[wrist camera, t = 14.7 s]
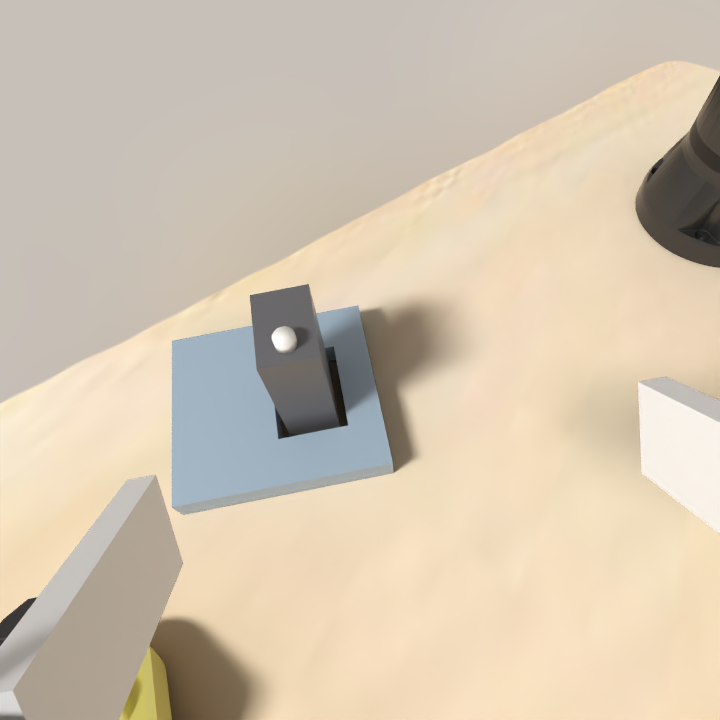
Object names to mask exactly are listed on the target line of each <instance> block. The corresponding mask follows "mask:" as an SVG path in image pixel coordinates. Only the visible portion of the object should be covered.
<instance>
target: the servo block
mask: <svg viewBox="0 0 720 720" xmlns="http://www.w3.org/2000/svg"><path fill="white" fill-rule="evenodd" d="M250 303H251V314H252V324H253V335H254V346H255V357H256V368H257V371H258V373H259V375H260V377H261V379H262V381H263V383H264V385H265V387H266V389H267V391H268V393H269V395H270V397H271V399H272V401H273V403H274V405H275V407H276V409H277V411H278V413H279V415H280V417H281V419H282V421H283V423H284V425H285V427H286V429H287V430H288V432H289V434H290V436H291V437H292V436H297V435H302V434H307V433H312V432H317V431H322V430H327V429H332V428H337V427H340V423H339V417H338V411H337V405H336V400H335V394H334V388H333V382H332V377H331V371H330V366H329V362H328V359H327V355H326V351H325V347H324V343H323V339H322V335H321V331H320V327H319V323H318V319H317V315H316V311H315V307H314V303H313V300H312V296H311V292H310V288H309V284H307V285H302V286H297V287H291V288H286V289H281V290H276V291H270V292H265V293H260V294H254V295H250Z"/></svg>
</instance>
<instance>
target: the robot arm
mask: <svg viewBox="0 0 720 720" xmlns="http://www.w3.org/2000/svg"><path fill="white" fill-rule="evenodd" d="M636 211H637V215H638V218H639V220H640V222H641V224H642V226H643V227H644V229H645V230H646V231H647V232H648V234H649V235H650V236H651V237H652V238H653V239H654V240H655V241H657V242H658V243H659V244H660V245H662V246H663V247H664V248H666V249H668V250H669V251H671V252H673V253H674V254H676V255H678V256H680V257H683V258H685V259H688V260H690V261H693V262H696V263H700V264H704V265H708V266H714V267H720V76H719V78H718V80H717V82H716V83H715V85H714V87H713V89H712V91H711V92H710V94H709V96H708V98H707V100H706V102H705V103H704V105H703V107H702V109H701V111H700V112H699V114H698V116H697V118H696V120H695V122H694V124H693V125H692V127H691V129H690V131H689V132H688V133H687V134H686V135H685V136H684V137H683V138H682V139H680V140H679V141H678V142H677V143H676V144H675V145H674V146H673V147H672V148H671V149H670V150H669V151H668V152H667V153H666V154H665V155H664V156H663V158H661V159H660V160H659V161H658V162H657V163H656V164H655V165H654V166H653V167H652V168H651V169H650V170H649V172H648V173H647V175H646V177H645V179H644V180H643V182H642V184H641V186H640V188H639V191H638V193H637V196H636ZM638 392H639V417H640V443H641V469H642V474H643V475H644V476H646V477H647V478H648V479H650V480H651V481H652V482H653V483H655V484H656V485H657V486H659V487H660V488H661V489H662V490H664V491H665V492H666V493H668V494H669V495H670V496H671V497H673V498H674V499H675V500H677V501H678V502H679V503H680V504H682V505H683V506H684V507H686V508H687V509H688V510H689V511H691V512H692V513H693V514H695V515H696V516H697V517H698V518H700V519H701V520H702V521H704V522H705V523H706V524H707V525H709V526H710V527H711V528H713V529H714V530H715V531H716V532H718V533H719V534H720V400H717V399H715V398H713V397H710V396H708V395H706V394H704V393H701V392H699V391H697V390H695V389H692V388H690V387H688V386H686V385H683V384H681V383H679V382H677V381H674V380H672V379H670V378H668V377H661V378H656V379H651V380H646V381H640V382H638ZM182 565H183V561H182V558H181V555H180V552H179V548H178V545H177V542H176V539H175V535H174V532H173V529H172V525H171V522H170V519H169V516H168V512H167V509H166V506H165V503H164V499H163V496H162V493H161V490H160V486H159V483H158V480H157V476H156V475H151V476H146V477H141V478H136V479H130V480H127V481H126V482H125V484H124V485H123V486H122V487H121V489H120V490H119V491H118V493H117V494H116V495H115V497H114V498H113V499H112V501H111V502H110V503H109V505H108V506H107V507H106V508H105V510H104V511H103V512H102V514H101V515H100V516H99V518H98V519H97V520H96V522H95V523H94V524H93V526H92V527H91V528H90V529H89V531H88V532H87V533H86V535H85V536H84V537H83V539H82V540H81V541H80V543H79V544H78V545H77V547H76V548H75V549H74V550H73V552H72V553H71V554H70V556H69V557H68V558H67V560H66V561H65V562H64V564H63V565H62V566H61V567H60V569H59V570H58V571H57V573H56V574H55V575H54V577H53V578H52V579H51V581H50V582H49V583H48V585H47V586H46V587H45V588H44V590H43V591H42V592H41V594H40V595H39V596H38V597H37V598H32V599H28V600H27V601H25V602H24V603H23V604H22V605H20V606H19V607H18V608H17V609H16V610H14V611H13V612H12V613H11V614H9V615H8V616H7V617H6V618H5V619H3V621H2V622H1V623H0V720H119V719H120V716H121V714H122V711H123V709H124V706H125V704H126V701H127V699H128V697H129V694H130V692H131V689H132V687H133V684H134V682H135V680H136V677H137V675H138V672H139V670H140V667H141V665H142V662H143V660H144V658H145V655H146V653H147V650H148V648H149V645H150V643H151V640H152V638H153V636H154V633H155V631H156V628H157V626H158V623H159V621H160V619H161V616H162V614H163V611H164V609H165V606H166V604H167V601H168V599H169V597H170V594H171V592H172V589H173V587H174V584H175V582H176V579H177V577H178V575H179V572H180V570H181V567H182Z"/></svg>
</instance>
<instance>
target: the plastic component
mask: <svg viewBox="0 0 720 720" xmlns="http://www.w3.org/2000/svg"><path fill="white" fill-rule="evenodd" d="M119 720H172V716H171V708H170V700H169V691H168V683H167V675H166V668H165V664H164V662H163V661H162V659H161V658H160V657H159V656H158V654H157V653H156V652H155V651H154V650H153V649H152V647H151V646H150V645H149V648H148V650H147V653H146V655H145V658H144V660H143V662H142V665H141V667H140V670H139V672H138V675H137V677H136V680H135V682H134V684H133V687H132V689H131V692H130V694H129V697H128V699H127V701H126V704H125V706H124V709H123V711H122V714H121V716H120V719H119Z"/></svg>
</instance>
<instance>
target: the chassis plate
mask: <svg viewBox="0 0 720 720" xmlns="http://www.w3.org/2000/svg"><path fill="white" fill-rule="evenodd" d="M316 315H317V319H318V323H319V327H320V331H321V335H322V339H323V343H324V347H325V351H326V355H327V359H328V361H333V360H336V361H337V367H338V372H339V377H340V383H341V388H342V394H343V399H344V405H345V410H346V416H347V421H348V426H342V427H337V428H332V429H327V430H322V431H317V432H312V433H307V434H302V435H297V436H292V437H286V438H283V436H282V427H281V418H280V415H279V413H278V411H277V409H276V407H275V405H274V403H273V401H272V399H271V397H270V395H269V393H268V391H267V389H266V387H265V385H264V383H263V381H262V379H261V377H260V375H259V373H258V371H257V368H256V357H255V346H254V335H253V326H248V327H243V328H238V329H233V330H227V331H222V332H217V333H212V334H206V335H201V336H196V337H191V338H185V339H180V340H175V341H172V508H174V509H175V510H177V511H178V512H180V513H181V514H183V515H185V514H190V513H195V512H200V511H205V510H210V509H215V508H220V507H225V506H230V505H235V504H240V503H245V502H250V501H255V500H260V499H265V498H270V497H275V496H280V495H285V494H290V493H295V492H300V491H305V490H310V489H315V488H320V487H325V486H330V485H335V484H340V483H345V482H350V481H355V480H360V479H365V478H370V477H375V476H380V475H385V474H390V473H394V472H393V461H392V457H391V452H390V447H389V443H388V438H387V434H386V429H385V425H384V420H383V416H382V411H381V407H380V402H379V398H378V393H377V389H376V384H375V380H374V375H373V370H372V366H371V361H370V357H369V352H368V348H367V343H366V339H365V334H364V330H363V325H362V321H361V316H360V312H359V307H358V306H353V307H348V308H343V309H338V310H332V311H327V312H322V313H317V314H316Z"/></svg>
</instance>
